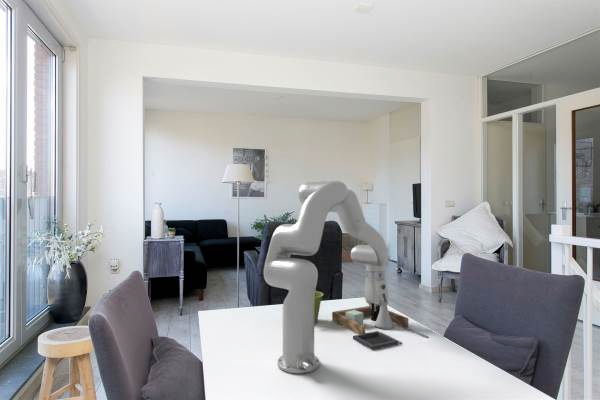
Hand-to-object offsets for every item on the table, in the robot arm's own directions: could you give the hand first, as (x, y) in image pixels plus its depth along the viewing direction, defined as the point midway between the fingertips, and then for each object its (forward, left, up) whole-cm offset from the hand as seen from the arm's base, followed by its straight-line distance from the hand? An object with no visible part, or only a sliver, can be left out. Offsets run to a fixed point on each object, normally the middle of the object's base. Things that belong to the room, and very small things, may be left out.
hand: (375, 320), depth 151 cm
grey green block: (+2, +9, -1) cm, 9 cm away
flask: (-5, 0, -1) cm, 5 cm away
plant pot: (+14, +23, -1) cm, 27 cm away
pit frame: (-16, +13, -1) cm, 21 cm away
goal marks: (-16, 0, -1) cm, 16 cm away
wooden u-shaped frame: (0, +3, -1) cm, 3 cm away
